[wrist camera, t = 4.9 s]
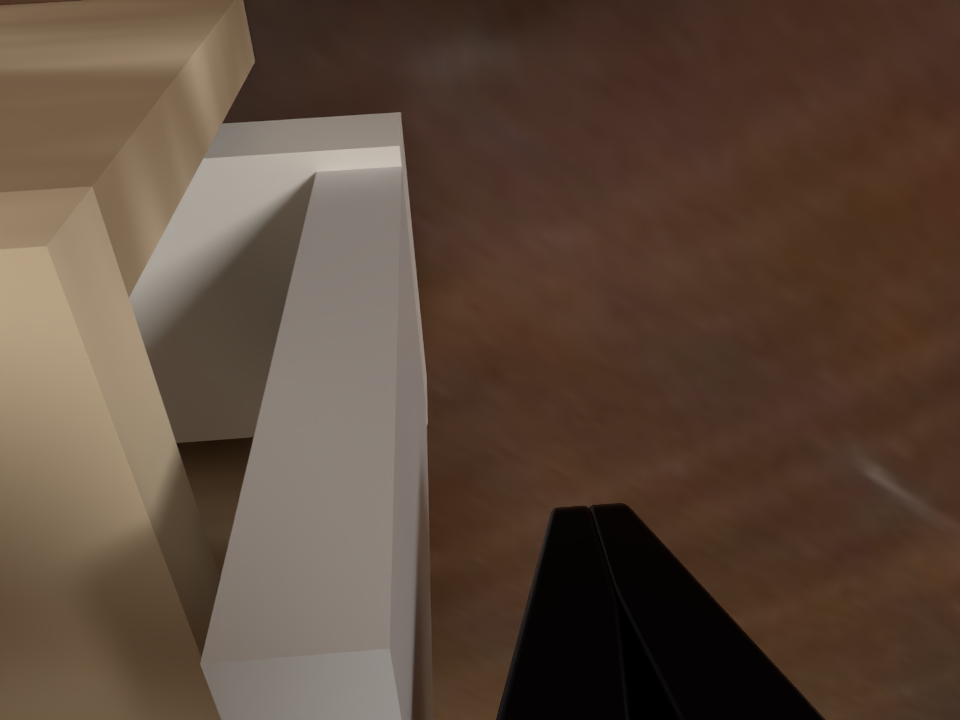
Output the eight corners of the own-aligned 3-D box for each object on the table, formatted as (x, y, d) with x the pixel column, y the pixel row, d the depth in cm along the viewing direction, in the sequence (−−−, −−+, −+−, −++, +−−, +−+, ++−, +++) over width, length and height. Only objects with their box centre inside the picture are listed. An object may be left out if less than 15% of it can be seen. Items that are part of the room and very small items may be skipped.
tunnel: (327, 439, 17) (275, 854, 11) (27, 461, 17) (-215, 898, 10) (241, -9, 12) (47, 247, 6) (-182, 15, 12) (-884, 309, 6)
